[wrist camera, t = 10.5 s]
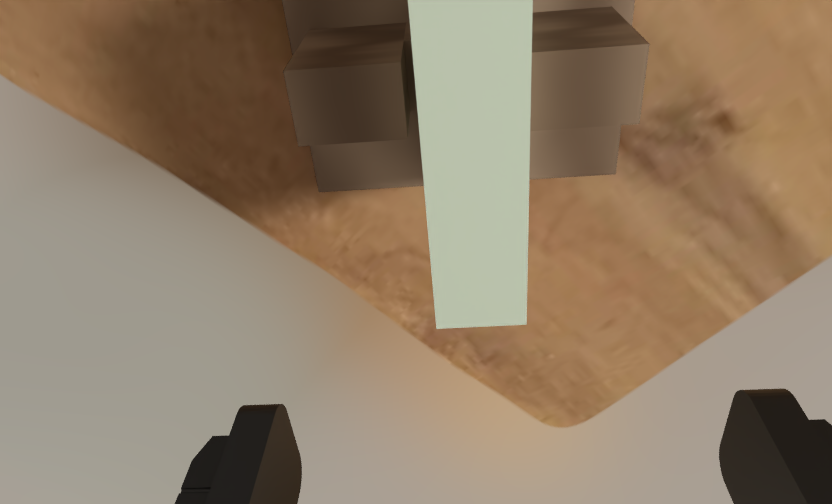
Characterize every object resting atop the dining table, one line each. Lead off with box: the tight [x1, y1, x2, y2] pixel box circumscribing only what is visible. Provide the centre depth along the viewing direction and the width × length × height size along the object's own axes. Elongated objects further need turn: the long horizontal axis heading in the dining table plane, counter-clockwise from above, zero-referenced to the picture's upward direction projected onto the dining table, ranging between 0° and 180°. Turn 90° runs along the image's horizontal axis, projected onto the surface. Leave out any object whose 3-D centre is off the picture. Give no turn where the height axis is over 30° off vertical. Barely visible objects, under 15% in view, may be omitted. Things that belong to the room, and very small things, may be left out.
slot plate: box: [282, 0, 649, 192], centre depth 28 cm, size 16×14×7 cm
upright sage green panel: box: [408, 0, 533, 329], centre depth 24 cm, size 3×12×13 cm, turn 5°
